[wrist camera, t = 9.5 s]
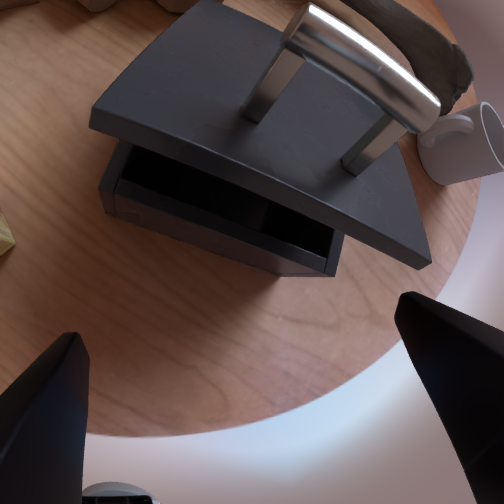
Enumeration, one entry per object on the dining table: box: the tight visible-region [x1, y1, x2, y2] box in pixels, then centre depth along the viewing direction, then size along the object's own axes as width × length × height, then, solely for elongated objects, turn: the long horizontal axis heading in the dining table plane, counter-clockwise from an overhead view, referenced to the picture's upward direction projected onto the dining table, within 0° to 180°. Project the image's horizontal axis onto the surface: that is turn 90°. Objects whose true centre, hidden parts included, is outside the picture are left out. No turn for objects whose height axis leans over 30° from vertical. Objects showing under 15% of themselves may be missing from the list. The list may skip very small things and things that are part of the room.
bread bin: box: [98, 139, 345, 277], centre depth 19 cm, size 13×13×6 cm
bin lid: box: [89, 0, 441, 270], centre depth 11 cm, size 13×13×5 cm
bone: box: [340, 0, 474, 117], centre depth 23 cm, size 32×10×9 cm, turn 58°
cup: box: [417, 102, 504, 185], centre depth 27 cm, size 7×10×9 cm
